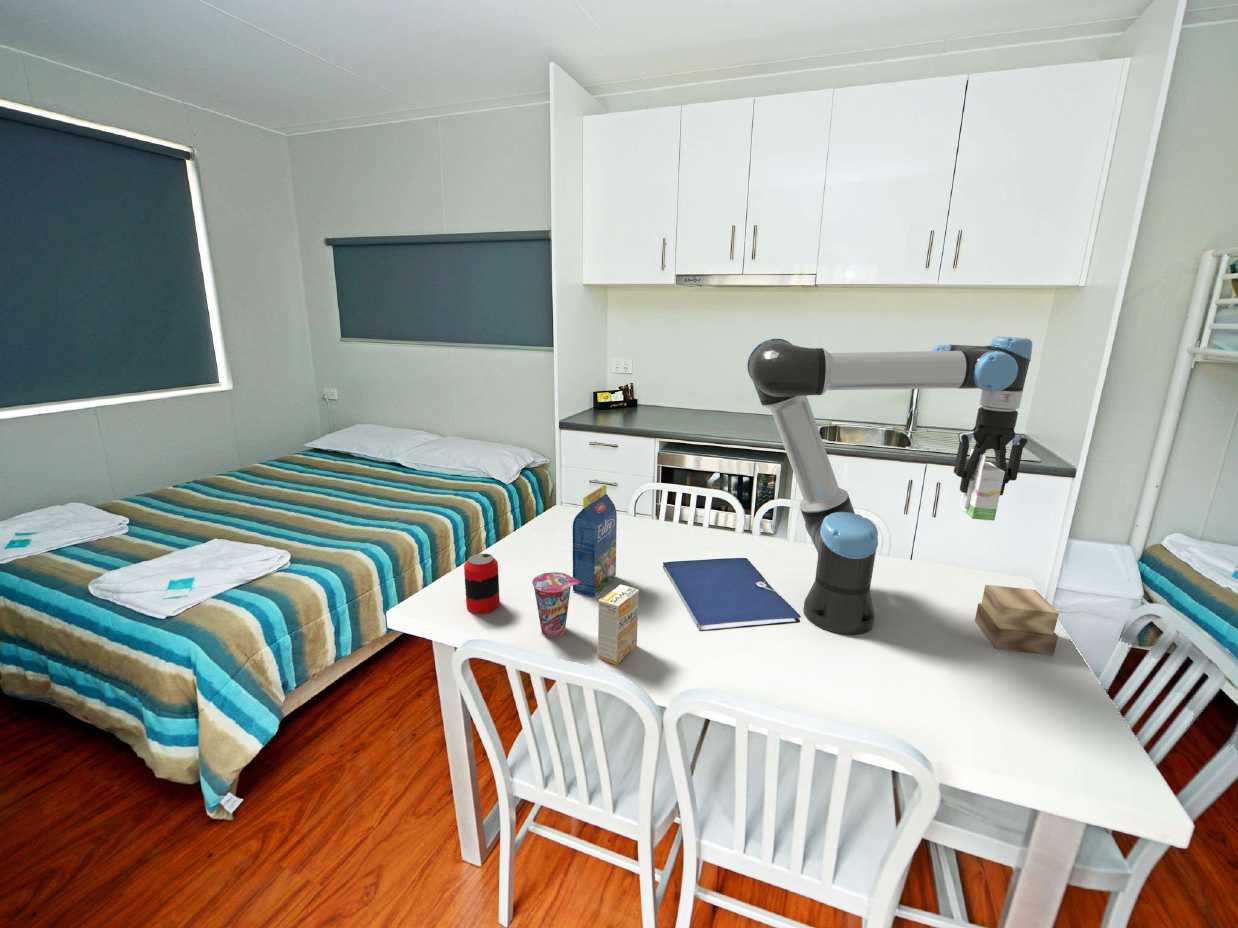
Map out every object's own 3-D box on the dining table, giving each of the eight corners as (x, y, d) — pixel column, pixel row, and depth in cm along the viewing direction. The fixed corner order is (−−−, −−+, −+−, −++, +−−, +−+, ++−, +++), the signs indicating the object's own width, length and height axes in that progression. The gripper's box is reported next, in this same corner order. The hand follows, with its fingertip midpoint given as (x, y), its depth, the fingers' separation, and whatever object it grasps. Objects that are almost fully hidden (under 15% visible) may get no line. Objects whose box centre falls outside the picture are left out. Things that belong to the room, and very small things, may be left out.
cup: (541, 646, 119) (540, 594, 115) (528, 625, 126) (526, 576, 123) (582, 635, 123) (582, 584, 120) (567, 615, 130) (567, 567, 127)
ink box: (995, 521, 130) (1009, 458, 126) (971, 519, 131) (984, 457, 126) (980, 508, 138) (993, 449, 134) (958, 506, 139) (970, 447, 135)
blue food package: (572, 591, 141) (571, 495, 134) (594, 571, 151) (595, 481, 144) (594, 597, 138) (595, 500, 131) (616, 576, 149) (617, 485, 142)
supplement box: (617, 666, 113) (618, 606, 109) (597, 657, 115) (597, 599, 112) (638, 645, 120) (640, 589, 116) (618, 638, 122) (619, 582, 118)
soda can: (506, 601, 136) (504, 555, 132) (486, 617, 129) (483, 568, 126) (480, 594, 139) (477, 549, 135) (459, 609, 132) (456, 562, 129)
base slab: (994, 650, 121) (998, 629, 119) (974, 622, 131) (978, 603, 130) (1052, 657, 119) (1058, 636, 117) (1027, 628, 129) (1032, 608, 128)
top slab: (999, 628, 120) (1004, 606, 118) (981, 604, 129) (985, 584, 128) (1053, 634, 118) (1058, 613, 116) (1030, 610, 127) (1035, 589, 126)
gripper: (960, 409, 125) (941, 508, 132) (1052, 413, 122) (1028, 515, 129) (948, 403, 132) (931, 498, 139) (1035, 407, 129) (1013, 504, 136)
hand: (977, 506), depth 134 cm, fingers closed on ink box, 5 cm apart
